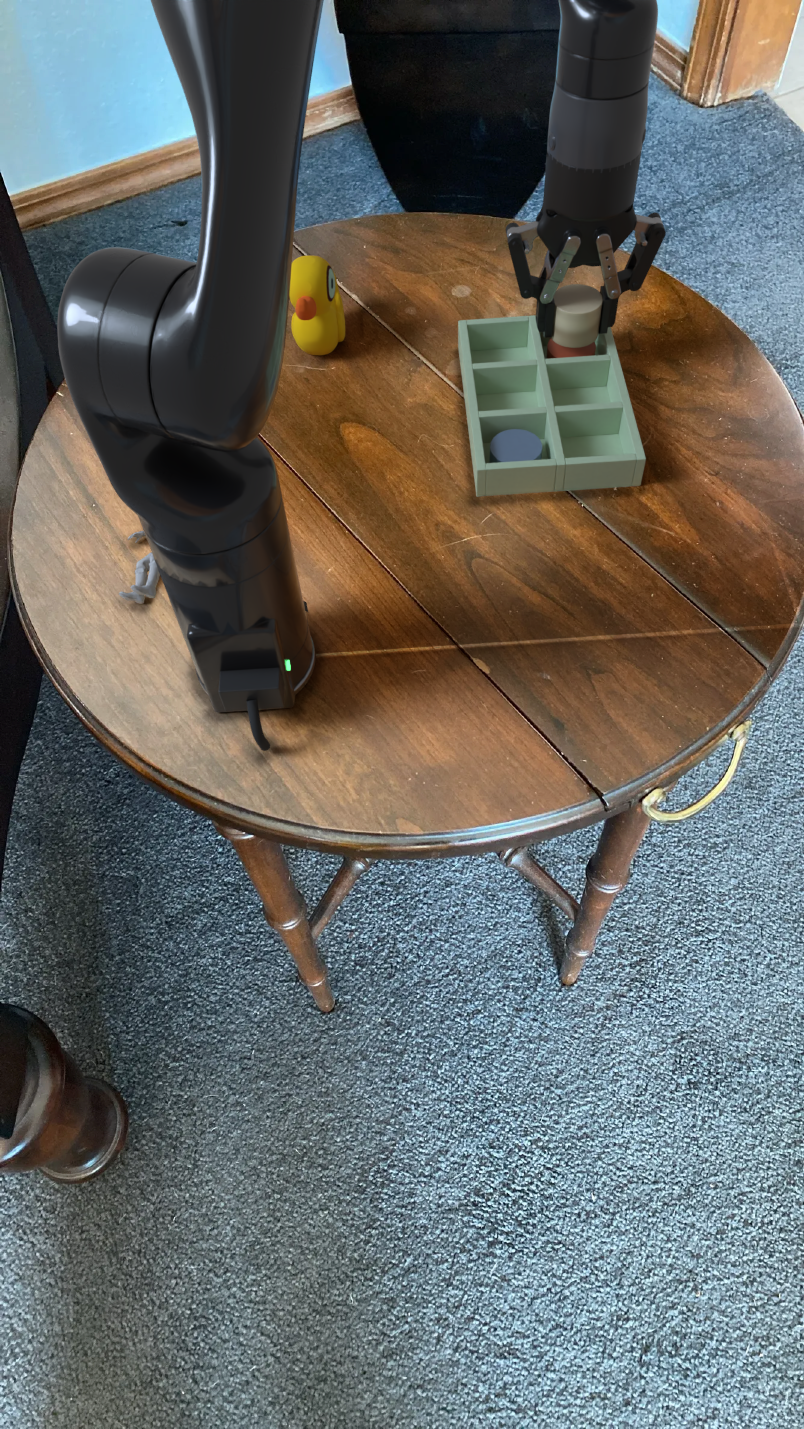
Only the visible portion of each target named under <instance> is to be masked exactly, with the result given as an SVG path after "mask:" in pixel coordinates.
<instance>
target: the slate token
mask: <svg viewBox="0 0 804 1429" xmlns="http://www.w3.org/2000/svg"><path fill="white" fill-rule="evenodd" d="M541 457H542V443H541V441H540V439H539V438H538V437H537V436H536V435H535V434H533V433H531V432H529V431H526V430H521V429H510V430H506V431H503V432H501V433H499V434H497V435H496V436H495V437H494V438H493V439H492V441H491V443H490V459H489V463H499V462H514V461H529V460H541Z"/></svg>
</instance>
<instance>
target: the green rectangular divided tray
mask: <svg viewBox="0 0 804 1429" xmlns="http://www.w3.org/2000/svg"><path fill="white" fill-rule="evenodd" d="M535 318H536V314H533V315H517V316H504V317H503V316H501V317H489V318H488V317H487V318H476V319H475V318H474V319H473V318H472V319H460V320H458V321H457V348H458V356H459V364H460V374H461V381H462V388H463V397H464V398H463V399H464V406H465V413H466V414H465V415H466V422H467V430H468V438H469V439H468V440H469V447H470V455H471V463H472V470H473V478H474V479H473V480H474V487H475V488H474V489H475V496H476V497H493V496H507V495H521V494H523V495H524V494H538V493H539V494H540V493H552V492H567V491H569V492H570V491H582V490H583V491H584V490H596V489H612V488H614V489H615V488H628V487H640V486H641V485H642V480H643V476H644V470H645V466H646V461H647V457H646V454H645V450H644V446H643V443H642V442H643V441H642V439H641V435H640V432H639V428H638V424H637V420H636V417H635V412H634V408H633V405H632V401H631V398H630V394H629V390H628V387H627V383H626V379H625V376H624V372H623V368H622V364H621V360H620V357H619V353H618V350H617V345H616V342H615V339H614V335H613V330H612V327H608V331H607V333H606V334H599V333H598V337H597V339H596V340H595V341H594V342H595V344H596V350H595V356H580V357H565V358H551V359H546V356H547V345H548V342H549V340H550V339H551V337H548V338H544V336H543V332H539V331H538V328H537V324H536V319H535ZM510 429H521V430H526V431H529V432H531V433H533V434H535V435H536V436H537V437H538V438H539V439H540V441H541V443H542V457H541V460H529V461H514V462H499V463H489V459H490V443H491V441H492V439H493V438H494V437H495V436H496V435H497V434H499V433H501V432H503V431H506V430H510Z"/></svg>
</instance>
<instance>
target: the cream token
mask: <svg viewBox="0 0 804 1429" xmlns="http://www.w3.org/2000/svg"><path fill="white" fill-rule="evenodd" d="M554 301H555V309H554V319H553V330H552V337H551V339H552V340H553V341H554V342H555V343H557V344H559V345H561V346H564V347H569V348H580V347H585V346H587V345H590V344H592V343H593V342H594V341H595V340H596V339H597V337H598V333H599V325H600V318H601V311H602V303H603V299H602V295H601V293H600V290H598V288H595V287H593V286H590V285H587V284H582V283H572V284H565V285H563V286H561V287H558V288H557V290H556V293H555V295H554Z"/></svg>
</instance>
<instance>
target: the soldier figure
mask: <svg viewBox="0 0 804 1429" xmlns="http://www.w3.org/2000/svg"><path fill="white" fill-rule="evenodd" d="M143 537H145V538H146V535H145V533H144V530H140V531H134V533H132V534H130V535H129V536H128V537H127V541H130V540H131V539H133V538H135V542H134V543H135V544H136V543H138V542H139V541H140V540H141V539H142V538H143ZM134 575H135V584H131V585H130V590H132V591H131V592H124V591H119V592H118V596H119V597H121V598H122V599H124V600H125V601H128V602H135V603H137V604H139V605H142V604H144V603H145V598H149V599H155V598H156V595H157V590H156V589H157V585H158V583H159V580H160V577H161V576H160V573H159V571H158V568H157V565H156V563H155V560H154V557H153V554H152V551H151V552H149V553H147V555H144V557H142V558H141V559H139V560H138V561H137V562H136V564H135V570H134Z"/></svg>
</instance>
